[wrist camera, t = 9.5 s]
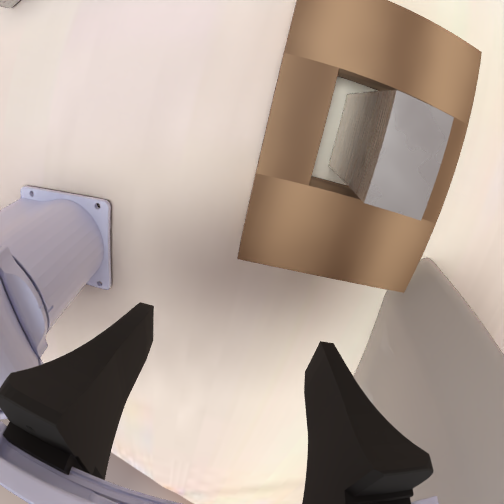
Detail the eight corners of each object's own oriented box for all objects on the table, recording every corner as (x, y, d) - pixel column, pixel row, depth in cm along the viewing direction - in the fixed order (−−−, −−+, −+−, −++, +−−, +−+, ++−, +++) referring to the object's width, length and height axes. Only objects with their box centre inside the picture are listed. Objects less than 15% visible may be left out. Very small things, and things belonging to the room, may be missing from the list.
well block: (241, 238, 22) (237, 258, 19) (299, -10, 14) (304, -27, 11) (390, 271, 22) (404, 292, 20) (458, 55, 14) (481, 52, 12)
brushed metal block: (328, 165, 19) (364, 203, 12) (347, 94, 17) (396, 89, 10) (369, 177, 19) (420, 220, 12) (388, 109, 17) (453, 117, 10)
